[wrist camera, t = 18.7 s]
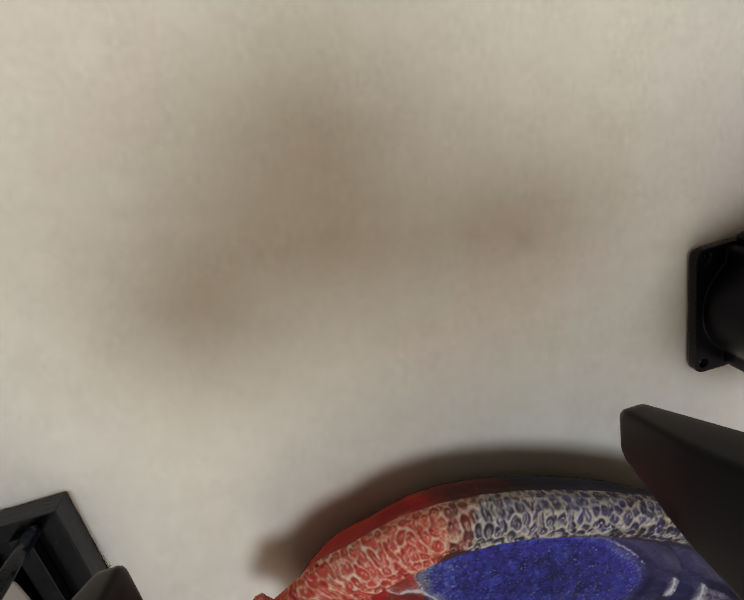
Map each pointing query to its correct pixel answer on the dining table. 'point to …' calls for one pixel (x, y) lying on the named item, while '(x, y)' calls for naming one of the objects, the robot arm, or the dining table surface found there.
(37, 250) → the dining table surface
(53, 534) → the dish rack
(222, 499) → the dining table surface
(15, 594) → the medicine bottle
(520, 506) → the dish
